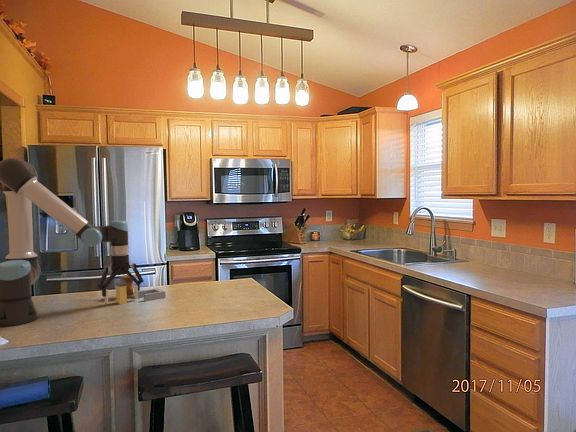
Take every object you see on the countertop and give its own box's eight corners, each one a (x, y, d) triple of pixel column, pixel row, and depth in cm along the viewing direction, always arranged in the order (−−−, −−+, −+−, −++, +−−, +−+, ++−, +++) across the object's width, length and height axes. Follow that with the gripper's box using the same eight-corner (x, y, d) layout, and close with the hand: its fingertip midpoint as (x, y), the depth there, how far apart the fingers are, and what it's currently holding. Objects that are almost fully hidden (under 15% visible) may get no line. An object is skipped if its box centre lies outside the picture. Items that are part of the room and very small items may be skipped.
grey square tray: (145, 301, 193) (144, 294, 193) (137, 297, 201) (136, 291, 201) (165, 297, 200) (165, 291, 200) (157, 294, 207) (156, 288, 207)
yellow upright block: (120, 304, 188) (119, 284, 188) (116, 302, 192) (115, 283, 192) (126, 303, 190) (126, 283, 190) (123, 301, 194) (122, 282, 194)
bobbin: (122, 299, 197) (122, 278, 196) (116, 296, 204) (115, 276, 203) (141, 296, 203) (141, 276, 202) (134, 293, 210) (134, 273, 209)
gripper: (93, 258, 179) (95, 307, 180) (149, 252, 195) (151, 297, 196) (88, 256, 185) (90, 304, 186) (143, 251, 201) (145, 294, 202)
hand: (121, 300), depth 191 cm, fingers open, 13 cm apart
